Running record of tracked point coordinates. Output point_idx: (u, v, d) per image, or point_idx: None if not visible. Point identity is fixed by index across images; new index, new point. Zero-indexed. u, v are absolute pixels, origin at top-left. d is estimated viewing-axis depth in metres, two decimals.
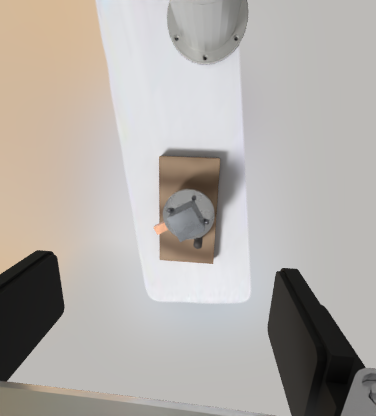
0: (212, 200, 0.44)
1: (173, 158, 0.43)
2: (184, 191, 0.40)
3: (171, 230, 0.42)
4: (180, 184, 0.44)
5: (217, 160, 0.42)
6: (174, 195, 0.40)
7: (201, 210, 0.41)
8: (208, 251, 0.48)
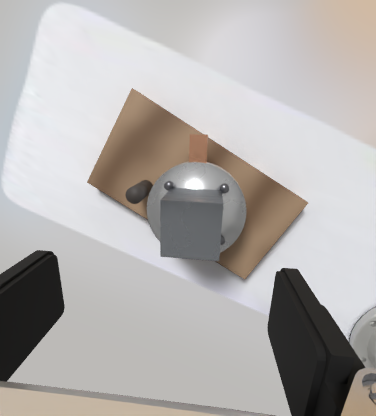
0: None
1: (289, 221, 0.25)
2: (239, 230, 0.21)
3: (184, 167, 0.20)
4: None
5: (245, 275, 0.27)
6: (243, 211, 0.21)
7: None
8: (112, 188, 0.26)
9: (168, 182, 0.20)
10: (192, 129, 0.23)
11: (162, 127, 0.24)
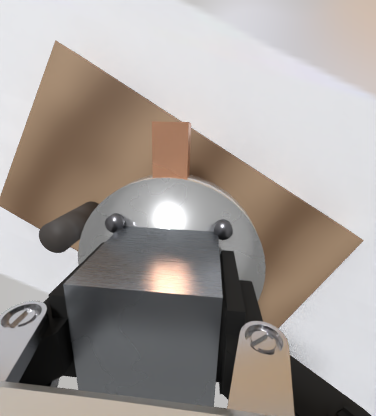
0: None
1: (330, 269, 0.15)
2: None
3: (143, 187, 0.10)
4: None
5: None
6: (260, 270, 0.11)
7: None
8: (39, 214, 0.16)
9: (113, 217, 0.10)
10: (166, 115, 0.13)
11: (114, 112, 0.14)
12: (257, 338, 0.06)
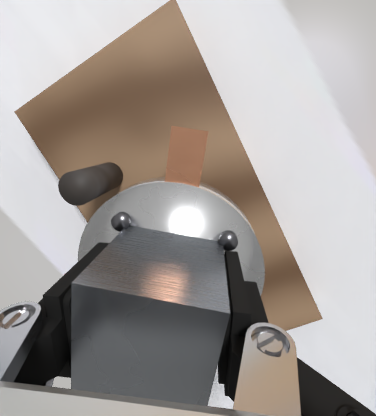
0: None
1: (284, 328, 0.17)
2: None
3: (154, 190, 0.10)
4: None
5: None
6: (258, 284, 0.11)
7: None
8: (55, 146, 0.14)
9: (120, 216, 0.10)
10: (232, 130, 0.13)
11: (188, 98, 0.13)
12: (263, 340, 0.06)
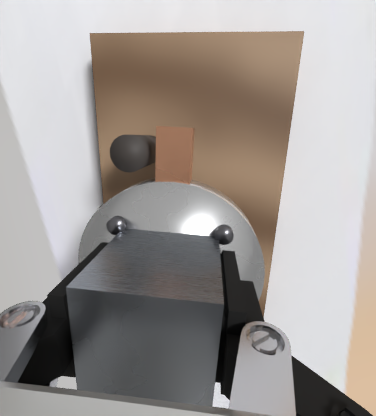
0: None
1: None
2: None
3: (146, 191, 0.10)
4: None
5: None
6: (259, 275, 0.11)
7: None
8: (111, 91, 0.13)
9: (114, 220, 0.10)
10: (281, 174, 0.14)
11: (261, 124, 0.13)
12: (258, 338, 0.06)
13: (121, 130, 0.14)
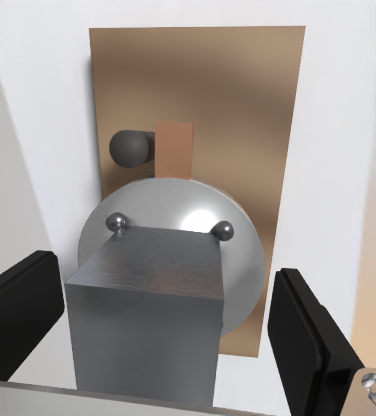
0: None
1: (222, 351, 0.18)
2: (251, 305, 0.11)
3: (145, 187, 0.10)
4: None
5: None
6: (260, 272, 0.11)
7: None
8: (110, 87, 0.13)
9: (114, 216, 0.10)
10: (281, 170, 0.14)
11: (262, 120, 0.13)
12: None
13: (121, 126, 0.14)
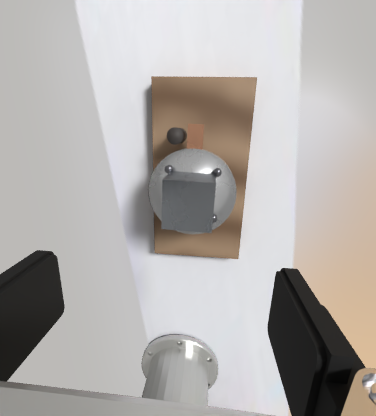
0: None
1: (218, 255, 0.31)
2: (230, 210, 0.24)
3: (182, 153, 0.23)
4: None
5: (158, 251, 0.32)
6: (234, 192, 0.24)
7: None
8: (160, 105, 0.26)
9: (168, 166, 0.23)
10: (248, 148, 0.26)
11: (237, 122, 0.26)
12: None
13: (165, 125, 0.27)
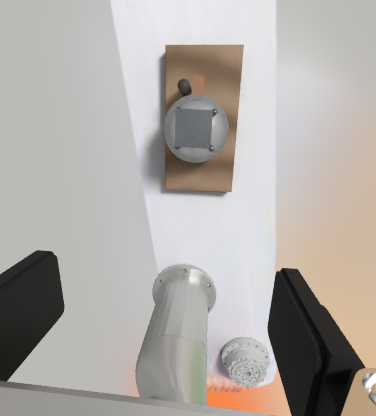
0: None
1: (215, 189, 0.39)
2: (224, 142, 0.33)
3: (189, 97, 0.32)
4: (208, 160, 0.38)
5: (168, 187, 0.40)
6: (226, 128, 0.32)
7: (193, 148, 0.33)
8: (172, 67, 0.35)
9: (178, 107, 0.32)
10: (237, 100, 0.35)
11: (229, 79, 0.34)
12: None
13: (175, 82, 0.35)
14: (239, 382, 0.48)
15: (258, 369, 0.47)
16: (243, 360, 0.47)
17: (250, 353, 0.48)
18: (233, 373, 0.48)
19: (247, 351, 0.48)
